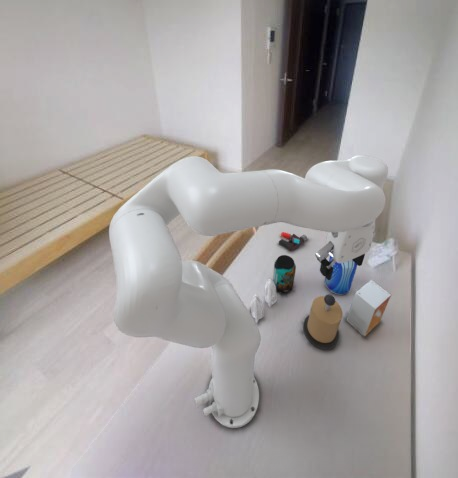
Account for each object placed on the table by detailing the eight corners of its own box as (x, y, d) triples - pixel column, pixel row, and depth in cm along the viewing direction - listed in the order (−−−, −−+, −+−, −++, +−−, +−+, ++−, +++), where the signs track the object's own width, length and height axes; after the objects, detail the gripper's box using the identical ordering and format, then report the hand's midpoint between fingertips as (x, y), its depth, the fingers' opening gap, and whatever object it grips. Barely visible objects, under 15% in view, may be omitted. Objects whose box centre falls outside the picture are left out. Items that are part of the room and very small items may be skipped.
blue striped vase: (321, 275, 98) (328, 243, 90) (344, 276, 97) (353, 243, 90) (328, 296, 90) (336, 262, 83) (353, 297, 90) (364, 263, 82)
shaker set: (270, 291, 92) (272, 268, 87) (280, 299, 90) (283, 276, 84) (246, 315, 85) (247, 291, 80) (256, 324, 82) (258, 301, 77)
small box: (364, 338, 78) (375, 309, 72) (345, 320, 83) (354, 292, 77) (380, 322, 82) (391, 294, 76) (361, 306, 87) (370, 279, 81)
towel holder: (329, 321, 66) (303, 288, 74) (318, 356, 74) (296, 323, 82) (359, 305, 69) (331, 275, 77) (345, 340, 78) (322, 310, 86)
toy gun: (309, 240, 113) (311, 231, 111) (291, 254, 107) (292, 245, 105) (291, 228, 120) (292, 220, 118) (273, 241, 114) (273, 232, 111)
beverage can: (291, 297, 90) (295, 272, 84) (270, 291, 92) (273, 267, 87) (294, 280, 96) (297, 256, 90) (274, 275, 98) (276, 251, 92)
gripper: (337, 235, 51) (323, 294, 59) (398, 211, 58) (379, 267, 66) (311, 213, 57) (302, 269, 65) (369, 193, 64) (354, 247, 72)
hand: (340, 268), depth 66 cm, fingers open, 9 cm apart
